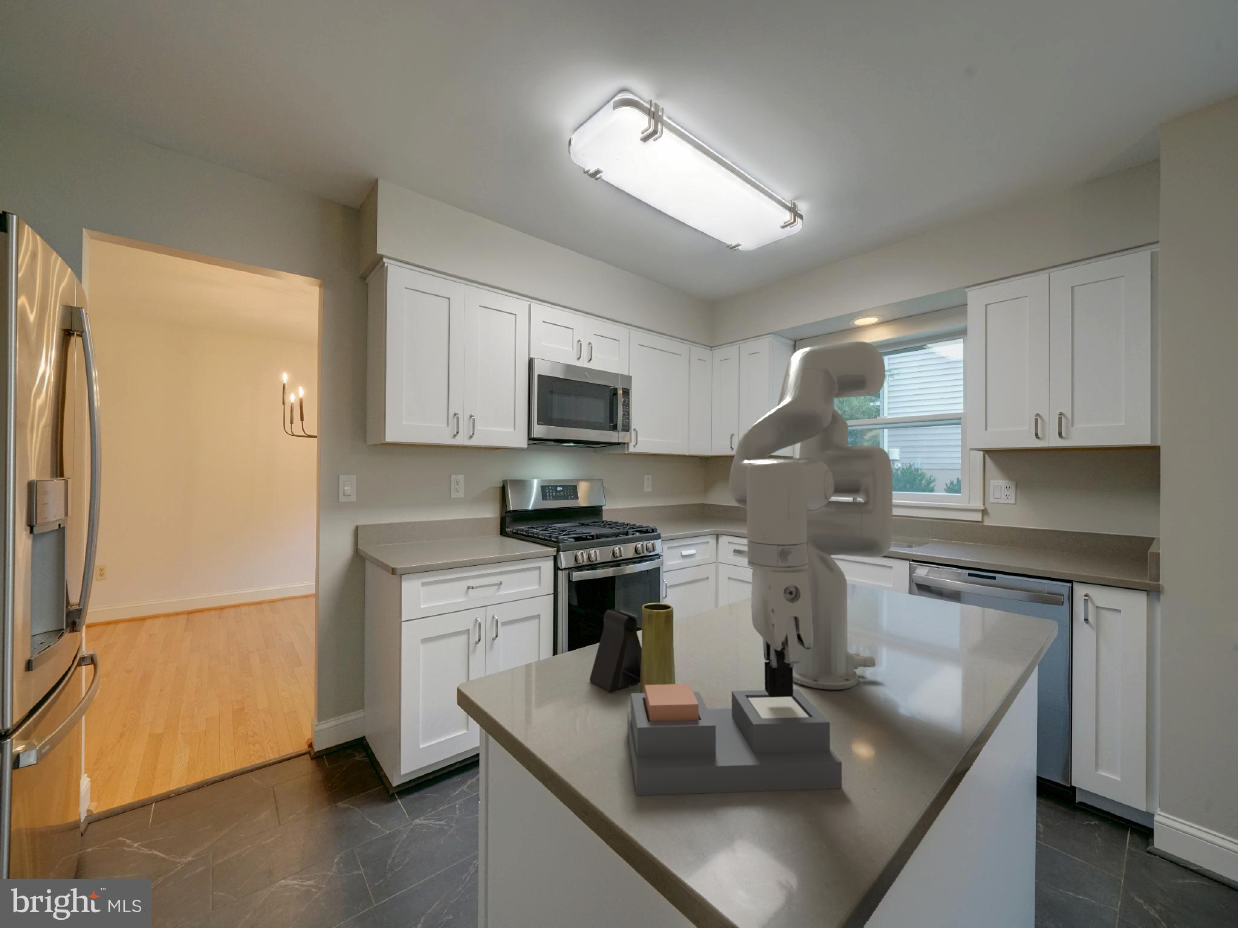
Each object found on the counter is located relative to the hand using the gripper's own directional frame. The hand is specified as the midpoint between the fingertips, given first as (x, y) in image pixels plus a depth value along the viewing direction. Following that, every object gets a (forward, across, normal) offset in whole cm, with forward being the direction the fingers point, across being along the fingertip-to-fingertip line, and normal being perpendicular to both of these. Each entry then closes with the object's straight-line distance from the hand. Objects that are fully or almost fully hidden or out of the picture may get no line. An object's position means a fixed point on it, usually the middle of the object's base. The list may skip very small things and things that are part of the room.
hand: (778, 693), depth 67 cm
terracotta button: (+2, -1, +15) cm, 15 cm away
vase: (+8, +19, +14) cm, 25 cm away
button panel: (+8, -1, +8) cm, 11 cm away
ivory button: (+4, -1, +1) cm, 5 cm away
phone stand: (+8, +24, +20) cm, 32 cm away
